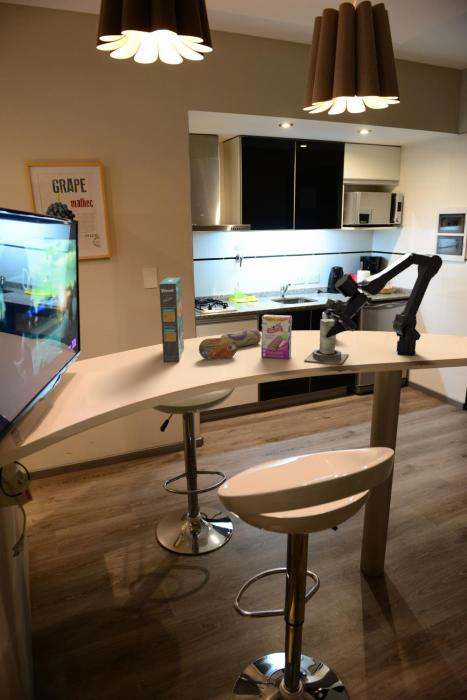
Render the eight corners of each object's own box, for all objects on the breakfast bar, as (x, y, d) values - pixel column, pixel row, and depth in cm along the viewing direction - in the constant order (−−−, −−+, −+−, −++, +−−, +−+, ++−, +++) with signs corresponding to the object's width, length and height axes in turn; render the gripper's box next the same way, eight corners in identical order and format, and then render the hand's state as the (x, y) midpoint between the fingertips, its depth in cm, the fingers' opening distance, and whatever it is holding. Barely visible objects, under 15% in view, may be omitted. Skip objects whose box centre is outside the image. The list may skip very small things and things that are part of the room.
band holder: (348, 355, 181) (348, 349, 180) (342, 365, 168) (342, 358, 168) (312, 352, 186) (313, 346, 185) (304, 361, 173) (304, 355, 173)
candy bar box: (261, 358, 180) (260, 316, 176) (263, 354, 184) (263, 314, 180) (289, 359, 177) (290, 317, 173) (291, 356, 182) (292, 315, 177)
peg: (330, 350, 179) (331, 318, 176) (334, 353, 175) (335, 321, 172) (319, 351, 178) (320, 319, 175) (323, 354, 174) (324, 321, 171)
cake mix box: (169, 348, 197) (166, 277, 190) (184, 348, 197) (180, 277, 190) (163, 362, 176) (159, 283, 169) (179, 362, 176) (175, 283, 169)
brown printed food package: (200, 361, 177) (199, 339, 175) (198, 359, 180) (197, 338, 178) (237, 357, 181) (237, 336, 179) (235, 355, 184) (235, 335, 182)
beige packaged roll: (251, 341, 207) (251, 327, 206) (261, 344, 202) (261, 329, 200) (202, 350, 193) (202, 335, 191) (212, 354, 187) (212, 338, 185)
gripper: (329, 288, 180) (302, 317, 181) (349, 294, 162) (318, 326, 163) (347, 307, 183) (320, 335, 184) (369, 315, 166) (339, 346, 167)
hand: (324, 335), depth 175 cm, fingers closed on peg, 4 cm apart
